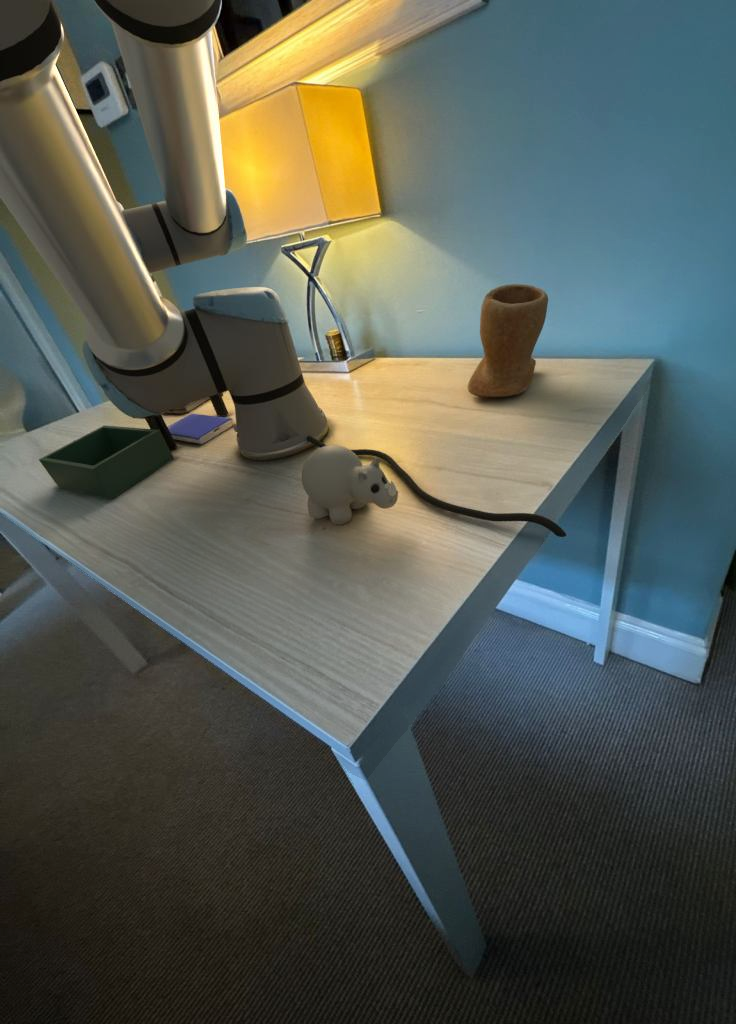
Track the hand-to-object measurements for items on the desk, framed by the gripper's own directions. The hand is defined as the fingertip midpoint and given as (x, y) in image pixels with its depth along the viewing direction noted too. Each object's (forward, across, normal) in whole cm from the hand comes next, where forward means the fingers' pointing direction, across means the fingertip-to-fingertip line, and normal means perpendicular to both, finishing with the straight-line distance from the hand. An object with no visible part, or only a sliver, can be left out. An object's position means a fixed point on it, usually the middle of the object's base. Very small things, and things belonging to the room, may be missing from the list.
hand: (198, 430), depth 85 cm
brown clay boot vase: (0, -23, +53) cm, 58 cm away
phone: (0, -14, -16) cm, 21 cm away
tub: (0, +16, -4) cm, 17 cm away
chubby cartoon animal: (0, +16, +46) cm, 49 cm away
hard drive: (0, 0, 0) cm, 1 cm away
